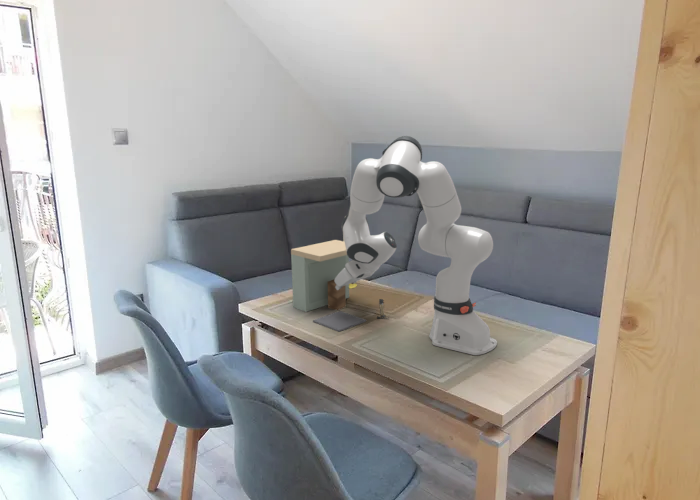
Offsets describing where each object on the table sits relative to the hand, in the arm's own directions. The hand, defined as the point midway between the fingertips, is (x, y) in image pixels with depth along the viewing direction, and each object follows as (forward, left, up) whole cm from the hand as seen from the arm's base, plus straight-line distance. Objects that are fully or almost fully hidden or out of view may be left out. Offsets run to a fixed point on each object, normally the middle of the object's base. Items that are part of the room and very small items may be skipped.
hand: (344, 285), depth 194 cm
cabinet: (+9, 0, -10) cm, 14 cm away
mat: (-7, +10, -10) cm, 16 cm away
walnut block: (+5, 0, -10) cm, 12 cm away
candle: (+23, -23, -11) cm, 34 cm away
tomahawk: (-11, -12, -11) cm, 19 cm away
